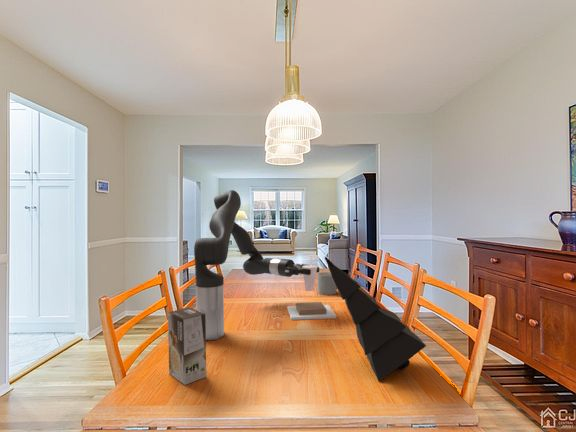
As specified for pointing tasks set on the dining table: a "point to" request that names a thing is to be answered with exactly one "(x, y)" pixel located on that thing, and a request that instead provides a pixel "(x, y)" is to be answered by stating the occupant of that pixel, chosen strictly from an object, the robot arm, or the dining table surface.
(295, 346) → the dining table surface
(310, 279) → the smoothie
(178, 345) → the coffee box
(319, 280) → the coffee mug
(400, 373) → the dining table surface
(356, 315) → the decorative tree
